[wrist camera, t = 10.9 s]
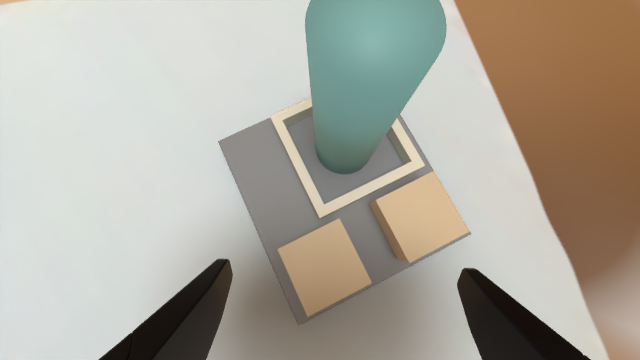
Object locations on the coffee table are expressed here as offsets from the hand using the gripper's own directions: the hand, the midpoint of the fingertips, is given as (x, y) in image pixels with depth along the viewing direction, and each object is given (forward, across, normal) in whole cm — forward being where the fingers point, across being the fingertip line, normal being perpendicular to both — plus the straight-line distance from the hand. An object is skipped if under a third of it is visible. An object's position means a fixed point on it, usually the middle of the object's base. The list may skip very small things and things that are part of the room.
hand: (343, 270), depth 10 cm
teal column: (+14, -1, +1) cm, 15 cm away
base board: (+13, 0, +4) cm, 14 cm away
